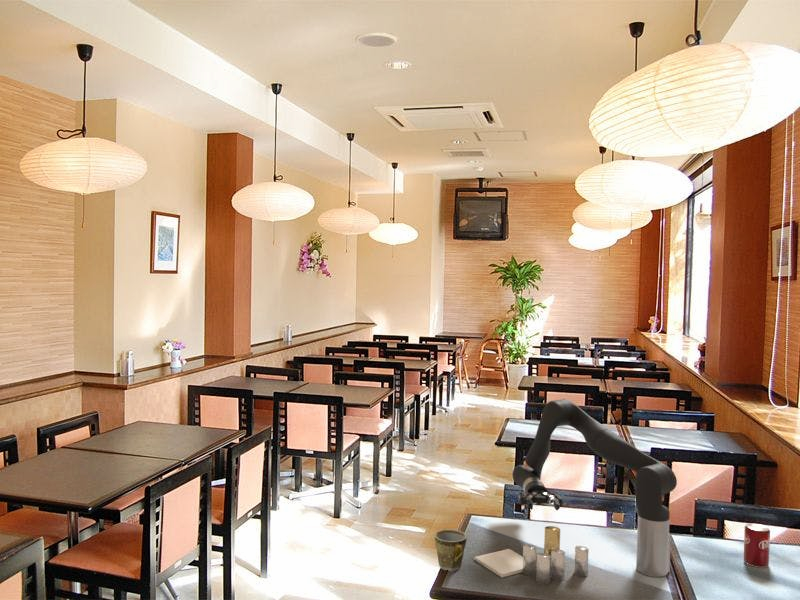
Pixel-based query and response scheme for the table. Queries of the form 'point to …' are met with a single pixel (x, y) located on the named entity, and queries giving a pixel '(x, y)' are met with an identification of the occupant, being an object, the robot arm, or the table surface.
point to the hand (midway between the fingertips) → (544, 507)
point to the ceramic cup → (450, 548)
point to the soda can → (756, 545)
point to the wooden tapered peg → (551, 539)
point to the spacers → (553, 563)
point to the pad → (502, 562)
